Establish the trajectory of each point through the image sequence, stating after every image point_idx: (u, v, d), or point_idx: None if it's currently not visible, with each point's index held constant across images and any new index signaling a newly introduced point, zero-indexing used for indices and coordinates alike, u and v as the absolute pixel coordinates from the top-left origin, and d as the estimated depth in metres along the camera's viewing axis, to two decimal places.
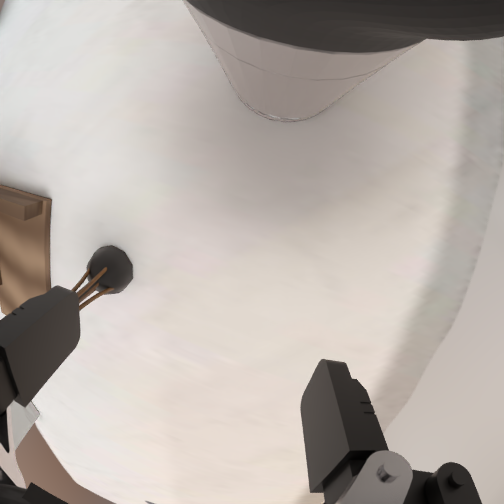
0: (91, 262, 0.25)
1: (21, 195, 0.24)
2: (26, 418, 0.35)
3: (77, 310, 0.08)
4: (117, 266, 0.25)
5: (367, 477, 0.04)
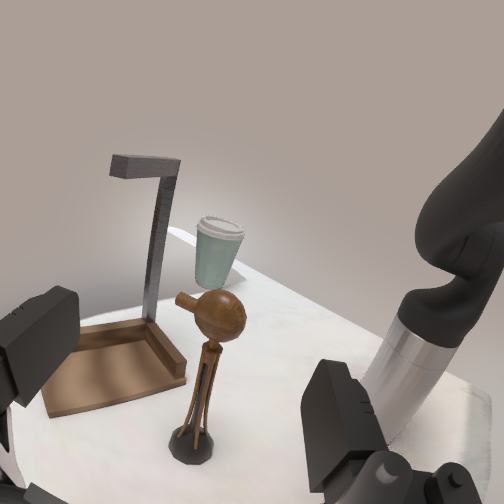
0: None
1: None
2: None
3: (77, 310, 0.08)
4: (211, 443, 0.25)
5: (367, 477, 0.04)
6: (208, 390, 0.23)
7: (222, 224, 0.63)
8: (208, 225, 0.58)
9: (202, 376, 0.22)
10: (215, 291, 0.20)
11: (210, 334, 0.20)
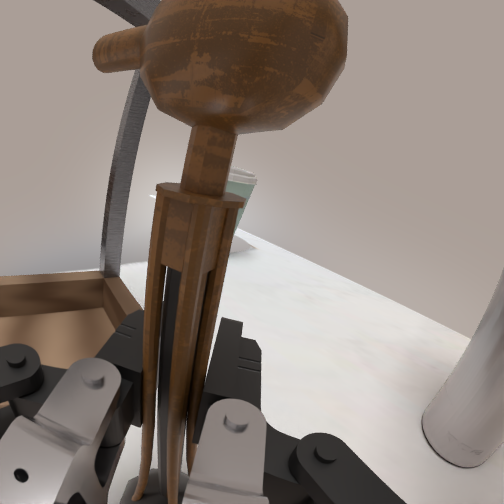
0: None
1: None
2: None
3: None
4: None
5: (213, 431, 0.05)
6: (192, 395, 0.06)
7: None
8: None
9: (163, 338, 0.06)
10: None
11: (194, 64, 0.03)
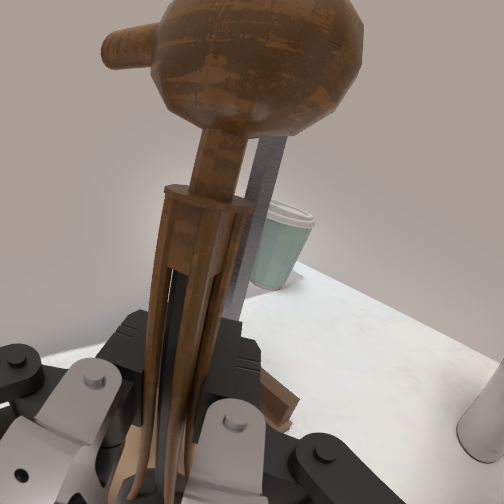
0: None
1: None
2: None
3: None
4: None
5: (212, 431, 0.05)
6: (192, 397, 0.06)
7: (286, 209, 0.51)
8: (275, 208, 0.46)
9: (166, 341, 0.06)
10: None
11: (209, 66, 0.03)
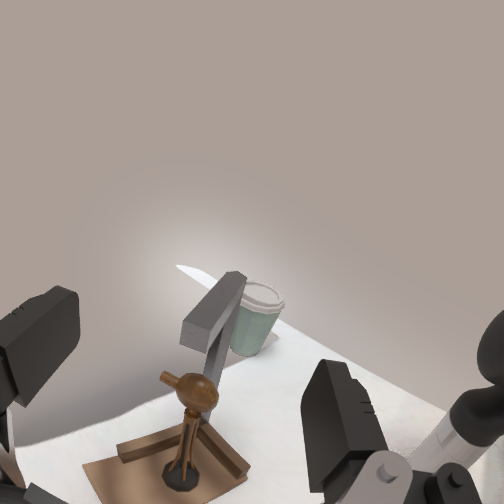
0: None
1: None
2: None
3: (77, 310, 0.08)
4: (197, 475, 0.27)
5: (367, 477, 0.04)
6: (192, 440, 0.25)
7: (260, 291, 0.58)
8: (248, 298, 0.53)
9: (186, 431, 0.24)
10: (192, 376, 0.22)
11: (189, 407, 0.22)
